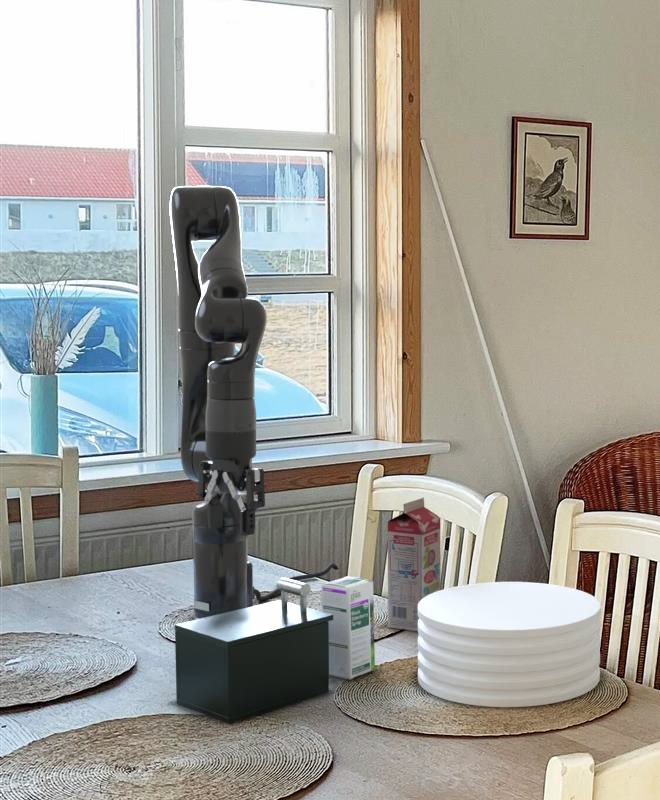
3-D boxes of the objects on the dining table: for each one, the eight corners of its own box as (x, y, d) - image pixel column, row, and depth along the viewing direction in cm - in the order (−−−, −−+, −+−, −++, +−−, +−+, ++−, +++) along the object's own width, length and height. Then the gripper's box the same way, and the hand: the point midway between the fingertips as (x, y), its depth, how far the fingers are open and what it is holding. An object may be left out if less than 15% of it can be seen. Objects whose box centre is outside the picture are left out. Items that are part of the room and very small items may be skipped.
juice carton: (387, 627, 235) (387, 502, 233) (407, 617, 241) (407, 495, 239) (421, 631, 233) (421, 505, 230) (440, 621, 239) (440, 499, 236)
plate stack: (623, 661, 218) (624, 591, 216) (561, 717, 192) (562, 638, 190) (464, 642, 227) (465, 575, 226) (385, 693, 201) (384, 617, 199)
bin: (276, 674, 208) (275, 606, 207) (329, 692, 201) (328, 621, 199) (176, 703, 195) (174, 630, 194) (229, 723, 187) (227, 647, 186)
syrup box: (350, 680, 206) (349, 587, 205) (321, 673, 209) (320, 581, 208) (375, 670, 211) (375, 579, 209) (347, 664, 214) (346, 574, 212)
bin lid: (280, 604, 208) (279, 571, 207) (333, 620, 200) (333, 584, 199) (174, 630, 194) (174, 593, 193) (227, 647, 186) (227, 609, 185)
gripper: (279, 429, 207) (278, 534, 208) (225, 421, 216) (225, 522, 218) (237, 433, 201) (237, 540, 203) (183, 424, 211) (183, 527, 212)
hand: (230, 531), depth 210 cm, fingers open, 8 cm apart
